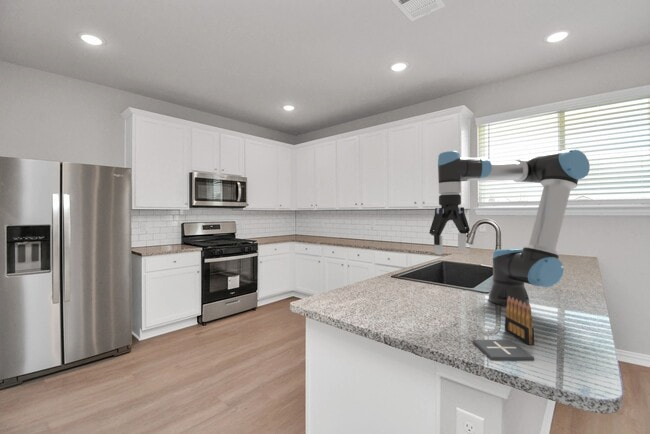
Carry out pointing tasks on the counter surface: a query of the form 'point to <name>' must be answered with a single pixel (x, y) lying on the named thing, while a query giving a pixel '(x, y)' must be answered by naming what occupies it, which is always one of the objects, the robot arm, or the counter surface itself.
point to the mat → (502, 350)
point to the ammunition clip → (519, 321)
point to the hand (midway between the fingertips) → (450, 252)
